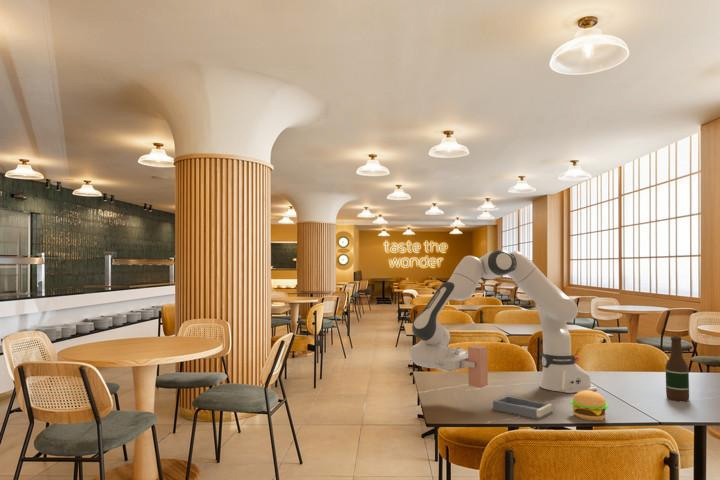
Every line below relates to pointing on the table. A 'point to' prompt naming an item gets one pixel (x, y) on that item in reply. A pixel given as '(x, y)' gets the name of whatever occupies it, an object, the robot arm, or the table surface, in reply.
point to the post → (478, 366)
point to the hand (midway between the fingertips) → (480, 363)
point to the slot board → (522, 407)
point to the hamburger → (589, 405)
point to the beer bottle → (677, 373)
